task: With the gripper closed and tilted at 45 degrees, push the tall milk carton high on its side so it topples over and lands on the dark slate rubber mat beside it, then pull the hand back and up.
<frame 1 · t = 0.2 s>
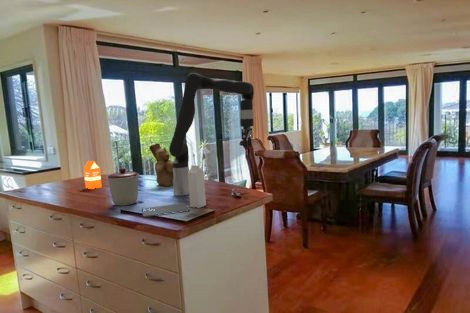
hand: (247, 146, 200), 29 cm above the countertop, tool pointing down, fingers open, 8 cm apart
orange juice: (93, 187, 260), on the countertop
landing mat: (165, 210, 184), on the countertop
milk: (198, 206, 188), on the countertop
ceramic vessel: (165, 184, 257), on the countertop
canister: (125, 204, 203), on the countertop
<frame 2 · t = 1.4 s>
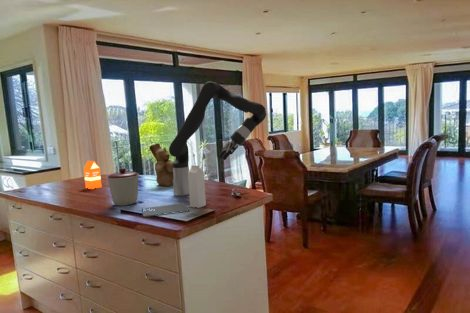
hand: (221, 158, 190), 25 cm above the countertop, tool tilted 45°, fingers open, 7 cm apart
nothing on the countertop moved.
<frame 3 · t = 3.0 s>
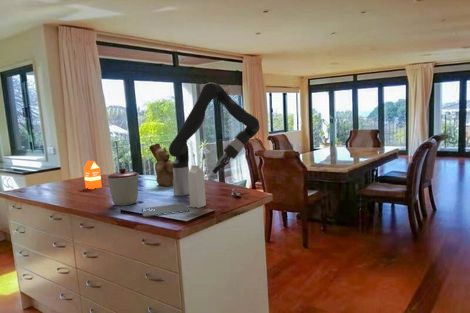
hand: (213, 172, 189), 17 cm above the countertop, tool tilted 45°, fingers closed
nothing on the countertop moved.
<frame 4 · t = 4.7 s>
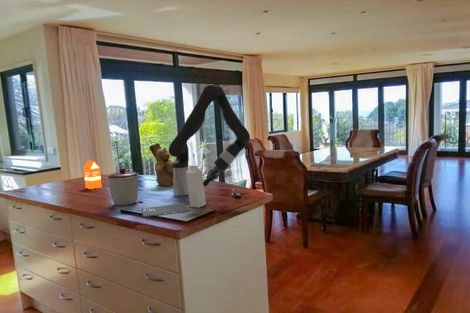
hand: (203, 185, 188), 11 cm above the countertop, tool tilted 45°, fingers closed
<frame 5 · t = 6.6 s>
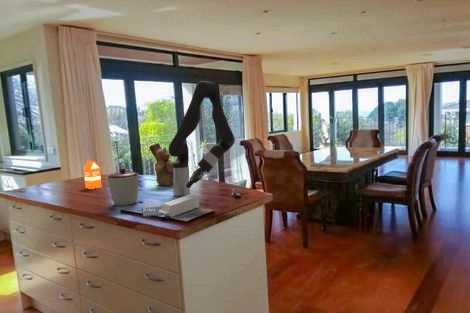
hand: (187, 187, 186), 11 cm above the countertop, tool tilted 45°, fingers closed
milk: (195, 200, 185), point 4 cm above the countertop, touching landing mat
everything else where it was.
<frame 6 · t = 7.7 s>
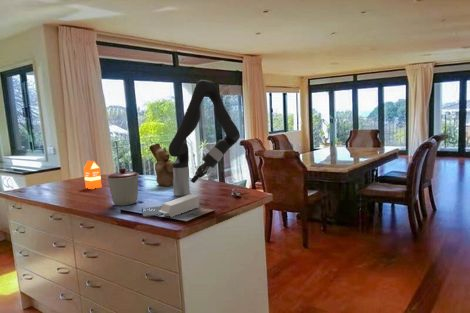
hand: (192, 182, 186), 13 cm above the countertop, tool tilted 45°, fingers closed
nothing on the countertop moved.
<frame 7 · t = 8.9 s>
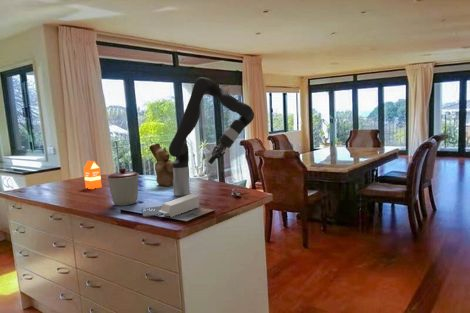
hand: (209, 163, 189), 22 cm above the countertop, tool tilted 40°, fingers closed
nothing on the countertop moved.
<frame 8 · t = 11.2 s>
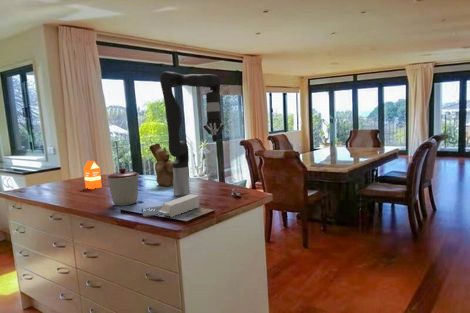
hand: (215, 141, 199), 33 cm above the countertop, tool pointing down, fingers closed
nothing on the countertop moved.
at the end: milk tilted 93°; milk touching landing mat, countertop; milk moved 5.1 cm from its start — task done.
